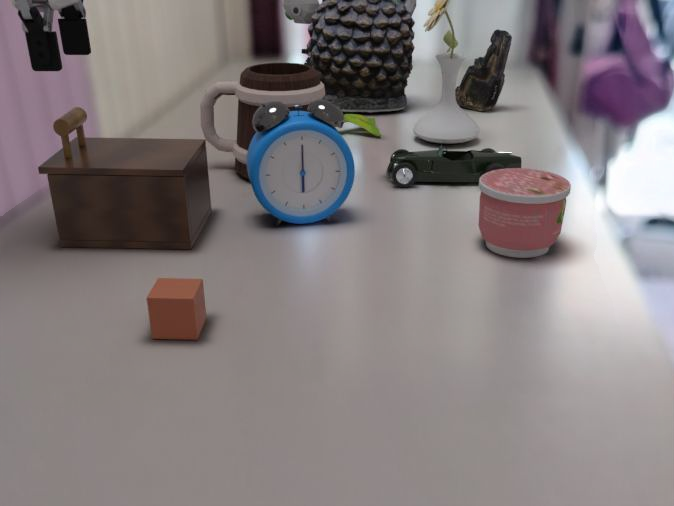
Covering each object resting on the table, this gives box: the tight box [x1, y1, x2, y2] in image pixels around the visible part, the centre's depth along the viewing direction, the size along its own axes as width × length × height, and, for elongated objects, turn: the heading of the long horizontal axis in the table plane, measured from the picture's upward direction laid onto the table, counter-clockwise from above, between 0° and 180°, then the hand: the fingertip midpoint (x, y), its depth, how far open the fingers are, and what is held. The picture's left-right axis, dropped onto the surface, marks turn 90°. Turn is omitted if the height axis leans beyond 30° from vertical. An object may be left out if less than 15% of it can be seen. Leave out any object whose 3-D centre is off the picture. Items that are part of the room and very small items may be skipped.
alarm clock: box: [247, 99, 356, 226], centre depth 101 cm, size 13×6×15 cm, turn 102°
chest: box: [46, 145, 213, 250], centre depth 99 cm, size 16×13×9 cm
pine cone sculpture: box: [306, 0, 417, 113], centre depth 151 cm, size 21×15×25 cm
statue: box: [455, 28, 513, 112], centre depth 154 cm, size 6×12×15 cm, turn 46°
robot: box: [282, 0, 320, 67], centre depth 179 cm, size 12×15×30 cm
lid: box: [37, 106, 207, 176], centre depth 95 cm, size 17×13×5 cm
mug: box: [199, 62, 325, 181], centre depth 118 cm, size 20×15×15 cm
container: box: [478, 167, 572, 259], centre depth 95 cm, size 10×10×8 cm
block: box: [146, 277, 207, 341], centre depth 77 cm, size 4×4×4 cm
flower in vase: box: [412, 0, 481, 145], centre depth 130 cm, size 13×11×25 cm
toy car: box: [385, 144, 522, 188], centre depth 117 cm, size 9×20×5 cm, turn 90°
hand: (63, 62), depth 91 cm, fingers open, 9 cm apart
